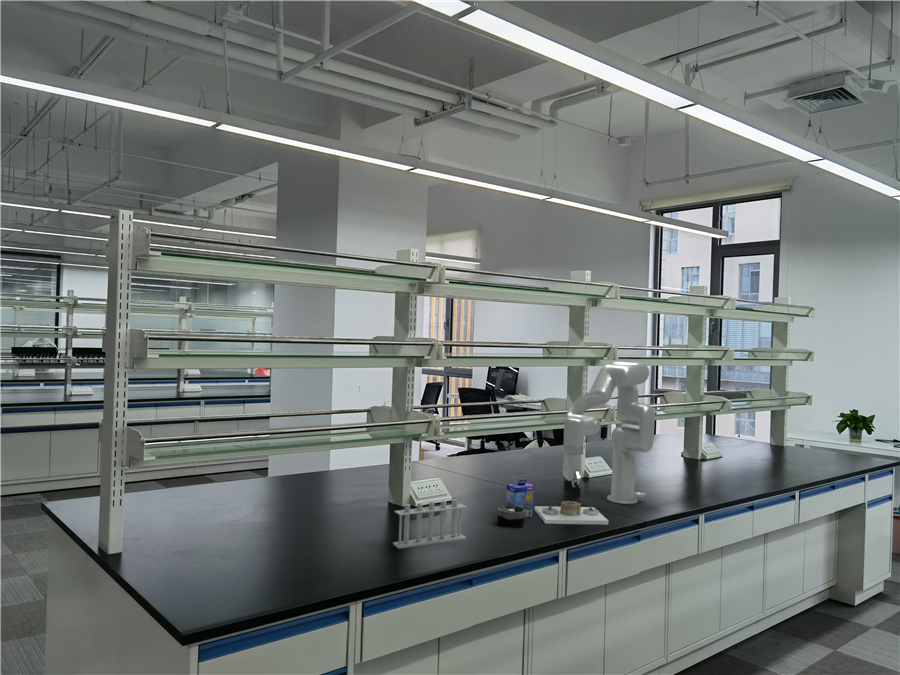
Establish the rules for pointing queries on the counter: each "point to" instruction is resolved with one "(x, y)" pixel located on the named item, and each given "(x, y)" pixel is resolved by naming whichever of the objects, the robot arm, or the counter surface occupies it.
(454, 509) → the test tube rack
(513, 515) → the cpu cooler
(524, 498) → the ink cartridge box
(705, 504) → the counter surface
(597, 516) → the gear board
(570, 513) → the maple gear
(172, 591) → the counter surface
